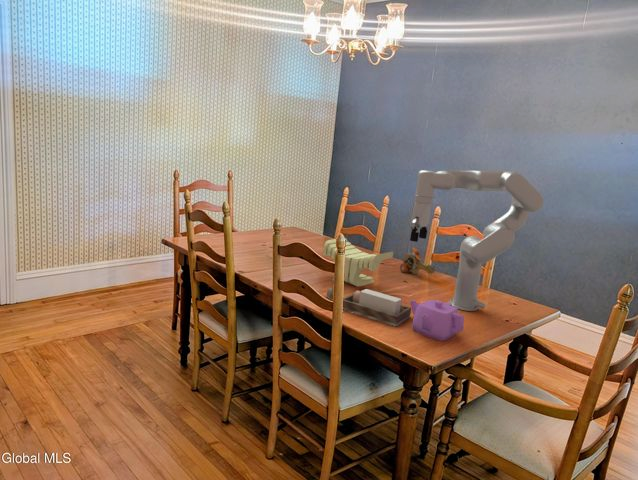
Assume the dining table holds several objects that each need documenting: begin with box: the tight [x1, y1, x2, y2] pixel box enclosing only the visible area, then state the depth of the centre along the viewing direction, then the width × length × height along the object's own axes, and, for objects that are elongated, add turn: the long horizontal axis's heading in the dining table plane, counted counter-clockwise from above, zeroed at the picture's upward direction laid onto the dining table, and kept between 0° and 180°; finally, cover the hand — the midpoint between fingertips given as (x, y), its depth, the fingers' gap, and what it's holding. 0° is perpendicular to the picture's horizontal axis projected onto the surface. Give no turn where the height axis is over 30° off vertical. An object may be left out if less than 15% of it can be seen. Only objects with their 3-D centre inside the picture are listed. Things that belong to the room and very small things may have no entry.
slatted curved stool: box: [322, 237, 394, 287], centre depth 233 cm, size 30×16×18 cm, turn 47°
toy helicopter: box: [399, 246, 436, 276], centre depth 254 cm, size 8×21×14 cm, turn 37°
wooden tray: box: [342, 293, 412, 327], centre depth 194 cm, size 25×14×4 cm, turn 56°
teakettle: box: [409, 299, 465, 342], centre depth 180 cm, size 17×17×12 cm
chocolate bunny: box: [325, 277, 335, 300], centre depth 206 cm, size 6×8×10 cm
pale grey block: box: [353, 288, 402, 315], centre depth 194 cm, size 19×5×7 cm, turn 56°
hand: (418, 239), depth 206 cm, fingers open, 9 cm apart
